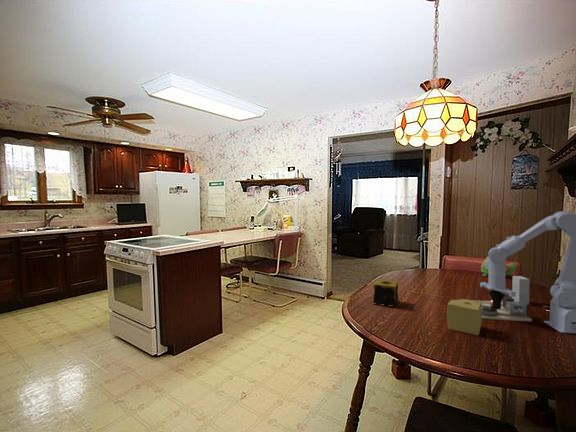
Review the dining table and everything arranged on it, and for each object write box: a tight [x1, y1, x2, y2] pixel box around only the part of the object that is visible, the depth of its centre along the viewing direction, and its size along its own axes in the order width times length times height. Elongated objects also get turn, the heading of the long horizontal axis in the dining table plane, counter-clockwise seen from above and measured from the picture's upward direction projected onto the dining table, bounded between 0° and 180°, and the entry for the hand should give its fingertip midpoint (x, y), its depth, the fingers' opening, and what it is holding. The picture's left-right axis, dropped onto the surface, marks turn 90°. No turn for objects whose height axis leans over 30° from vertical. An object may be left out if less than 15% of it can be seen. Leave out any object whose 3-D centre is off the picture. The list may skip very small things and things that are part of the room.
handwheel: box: [482, 299, 497, 316], centre depth 123 cm, size 9×9×5 cm
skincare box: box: [511, 275, 530, 306], centre depth 136 cm, size 6×4×12 cm
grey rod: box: [502, 296, 524, 313], centre depth 122 cm, size 12×3×4 cm, turn 169°
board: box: [473, 300, 533, 322], centre depth 127 cm, size 20×20×1 cm
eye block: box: [506, 301, 528, 316], centre depth 120 cm, size 3×6×5 cm, turn 79°
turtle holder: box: [480, 255, 517, 277], centre depth 181 cm, size 12×18×12 cm
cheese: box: [446, 298, 483, 336], centre depth 111 cm, size 10×11×10 cm
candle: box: [372, 279, 399, 307], centre depth 139 cm, size 10×10×10 cm
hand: (496, 308), depth 121 cm, fingers closed, pressing on handwheel
